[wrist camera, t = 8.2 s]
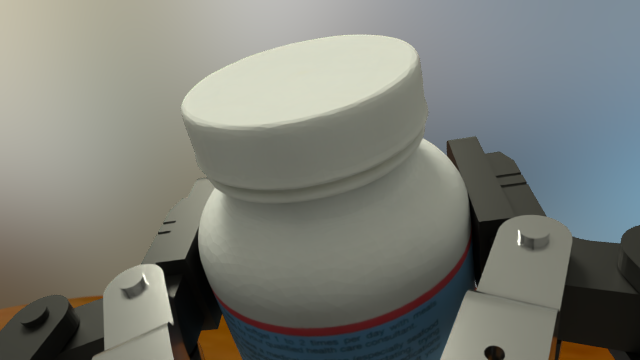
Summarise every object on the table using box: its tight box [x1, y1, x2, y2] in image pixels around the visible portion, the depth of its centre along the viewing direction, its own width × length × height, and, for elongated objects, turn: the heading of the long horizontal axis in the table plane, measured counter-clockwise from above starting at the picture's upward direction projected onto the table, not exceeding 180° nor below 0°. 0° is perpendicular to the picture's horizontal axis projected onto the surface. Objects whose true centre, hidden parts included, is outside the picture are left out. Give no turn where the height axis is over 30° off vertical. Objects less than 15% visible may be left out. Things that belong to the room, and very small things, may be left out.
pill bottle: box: [181, 35, 476, 360], centre depth 12 cm, size 6×6×11 cm
